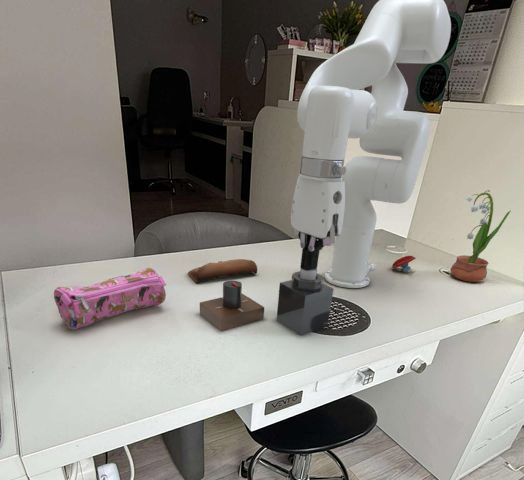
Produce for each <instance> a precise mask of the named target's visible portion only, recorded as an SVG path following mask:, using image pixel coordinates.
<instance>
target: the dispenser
mask: <svg viewBox="0 0 524 480" xmlns="http://www.w3.org/2000/svg"><path fill="white" fill-rule="evenodd" d="M299 277H300V270H299V271H295V272H293V273H292V274H291V279H290V280H285V281H281V282H279V288H278V298H277V308H276V309H277V310H276V320H275V321H276V322H277V323H279V324H281V325H282V326H284V327H286V328H287V329H289V330H290V331H292V332H293V333H295V334H296V335H298V336H299V337H301V336H304V335H307V334H311V333H313V332H316V331H319V330H322V329H325V328H328V326H329V325H328V324H329V319H330V314H331V308H332V302H333V297H334V290H335V289H334V287H331V286H329V285H327V284H326V283H324V279H325V277H323V275H322V274H320V273H318V272H317V275H316V279H315V280H305V279H301V278H299Z"/></svg>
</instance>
